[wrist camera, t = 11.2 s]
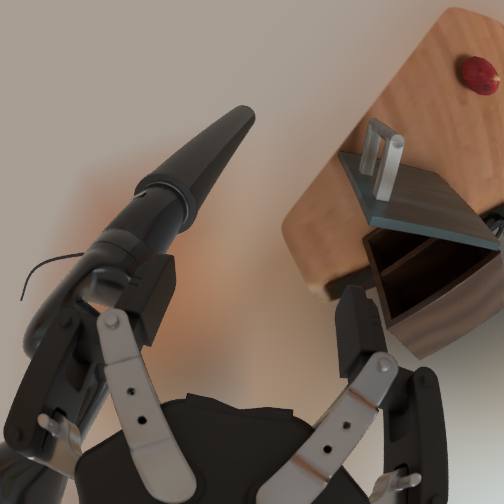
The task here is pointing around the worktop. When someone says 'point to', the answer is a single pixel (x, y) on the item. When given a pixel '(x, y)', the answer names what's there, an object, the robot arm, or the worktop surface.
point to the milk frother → (499, 223)
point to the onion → (480, 76)
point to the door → (409, 194)
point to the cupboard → (433, 287)
